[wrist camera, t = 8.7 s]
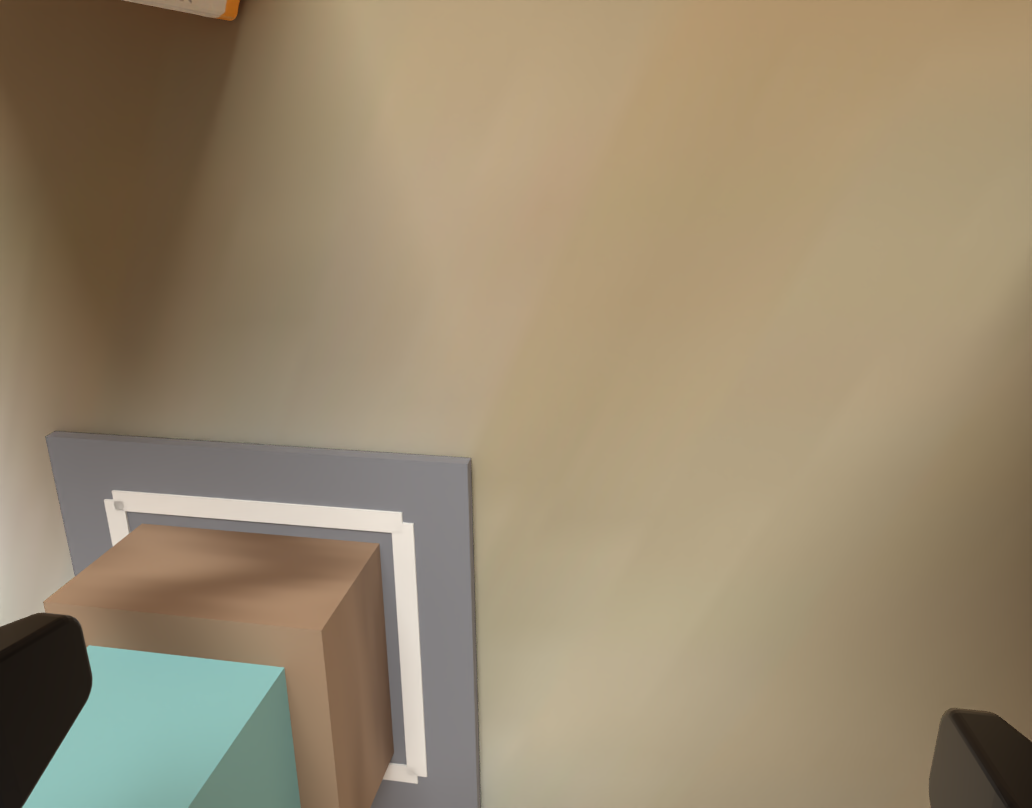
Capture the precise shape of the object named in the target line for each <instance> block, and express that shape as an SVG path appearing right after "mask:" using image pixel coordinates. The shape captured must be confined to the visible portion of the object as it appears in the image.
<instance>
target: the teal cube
mask: <svg viewBox="0 0 1032 808" xmlns="http://www.w3.org/2000/svg"><path fill="white" fill-rule="evenodd" d="M87 653H88V657H89V662H90V666H91V671H92V677H93V681H92V689H91V693H90V695H89V698H88V700H87V702H86V704H85V705H84V707H83V709H82V710H81V712H80V714H79V715H78V717H77V719H76V720H75V722H74V724H73V725H72V727H71V728H70V730H69V732H68V733H67V735H66V737H65V738H64V740H63V742H62V743H61V745H60V747H59V748H58V750H57V751H56V753H55V755H54V756H53V758H52V760H51V761H50V763H49V765H48V766H47V768H46V770H45V771H44V773H43V774H42V776H41V778H40V779H39V781H38V783H37V784H36V786H35V788H34V789H33V791H32V793H31V794H30V796H29V797H28V799H27V801H26V802H25V804H24V806H23V807H22V808H301V805H300V796H299V788H298V779H297V771H296V762H295V754H294V745H293V737H292V728H291V720H290V711H289V703H288V694H287V686H286V677H285V669H284V667H276V666H267V665H258V664H249V663H240V662H232V661H223V660H214V659H205V658H196V657H188V656H179V655H170V654H161V653H153V652H144V651H135V650H126V649H117V648H109V647H100V646H91V645H89V646H88V647H87Z"/></svg>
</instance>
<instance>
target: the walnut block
mask: <svg viewBox="0 0 1032 808" xmlns="http://www.w3.org/2000/svg"><path fill="white" fill-rule="evenodd" d="M43 603H44V608H45V612H46V613H53V614H62V615H70V616H72V617H74V618H76V619H77V620H78V621H79V623H80V624H81V627H82V630H83V634H84V639H85V643H86V648H87V647H88V646H89V645H91V646H100V647H109V648H117V649H126V650H135V651H144V652H153V653H161V654H170V655H179V656H188V657H196V658H205V659H214V660H223V661H232V662H240V663H249V664H258V665H267V666H276V667H284V669H285V677H286V686H287V694H288V703H289V711H290V720H291V728H292V737H293V745H294V754H295V762H296V771H297V779H298V788H299V796H300V805H301V808H370V807H371V805H372V803H373V800H374V798H375V796H376V793H377V791H378V789H379V786H380V784H381V782H382V779H383V777H384V775H385V772H386V770H387V768H388V765H389V763H390V761H391V758H392V756H393V754H394V744H393V730H392V716H391V701H390V687H389V673H388V659H387V645H386V630H385V616H384V602H383V588H382V574H381V559H380V545H379V543H368V542H356V541H344V540H332V539H320V538H308V537H297V536H285V535H273V534H261V533H249V532H237V531H225V530H213V529H201V528H189V527H177V526H165V525H153V524H141V525H139V526H138V527H137V528H136V529H134V530H133V531H132V532H131V533H129V534H128V535H127V536H126V537H124V538H123V539H122V540H121V541H119V542H118V543H117V544H115V545H114V546H113V547H112V548H110V549H109V550H108V551H107V552H105V553H104V554H103V555H102V556H100V557H99V558H98V559H97V560H95V561H94V562H93V563H92V564H90V565H89V566H88V567H87V568H85V569H84V570H83V571H81V572H80V573H79V574H78V575H76V576H75V577H74V578H73V579H71V580H70V581H69V582H68V583H66V584H65V585H64V586H63V587H61V588H60V589H59V590H58V591H56V592H55V593H54V594H52V595H51V596H50V597H49V598H47V599H46V600H45V601H44V602H43Z"/></svg>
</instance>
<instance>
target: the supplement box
mask: <svg viewBox="0 0 1032 808" xmlns="http://www.w3.org/2000/svg"><path fill="white" fill-rule="evenodd" d="M123 1H129V2H134V3H139V4H144V5H150V6H155V7H160V8H165V9H170V10H175V11H181V12H186V13H191V14H196V15H200V16H204V17H211V18H218V19H223V20H229V21H232V20H234V19H235V18H236V16H237V13H238V7H239V2H240V0H123Z"/></svg>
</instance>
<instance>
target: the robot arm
mask: <svg viewBox="0 0 1032 808" xmlns="http://www.w3.org/2000/svg"><path fill="white" fill-rule="evenodd" d="M92 681H93V677H92V671H91V666H90V662H89V657H88V653H87V648H86V643H85V639H84V634H83V630H82V627H81V624H80V623H79V621H78V620H77V619H76V618H74V617H72V616H70V615H62V614H53V613H37V614H33V615H30V616H28V617H25V618H22V619H20V620H17V621H14V622H12V623H9V624H7V625H4V626H1V627H0V808H22V807H23V806H24V804H25V802H26V801H27V799H28V797H29V796H30V794H31V793H32V791H33V789H34V788H35V786H36V784H37V783H38V781H39V779H40V778H41V776H42V774H43V773H44V771H45V770H46V768H47V766H48V765H49V763H50V761H51V760H52V758H53V756H54V755H55V753H56V751H57V750H58V748H59V747H60V745H61V743H62V742H63V740H64V738H65V737H66V735H67V733H68V732H69V730H70V728H71V727H72V725H73V724H74V722H75V720H76V719H77V717H78V715H79V714H80V712H81V710H82V709H83V707H84V705H85V704H86V702H87V700H88V698H89V695H90V693H91V689H92ZM929 797H930V805H931V808H1032V742H1031V741H1030V740H1029V739H1027V738H1026V737H1025V736H1024V735H1022V734H1021V733H1020V732H1019V731H1017V730H1016V729H1015V728H1013V727H1012V726H1011V725H1010V724H1008V723H1007V722H1006V721H1005V720H1003V719H1002V718H1001V717H999V716H998V715H996V714H994V713H991V712H986V711H976V710H967V709H957V708H951V709H949V710H947V711H946V712H945V713H944V715H943V717H942V718H941V722H940V726H939V731H938V736H937V741H936V746H935V752H934V757H933V762H932V767H931V772H930V778H929Z"/></svg>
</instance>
